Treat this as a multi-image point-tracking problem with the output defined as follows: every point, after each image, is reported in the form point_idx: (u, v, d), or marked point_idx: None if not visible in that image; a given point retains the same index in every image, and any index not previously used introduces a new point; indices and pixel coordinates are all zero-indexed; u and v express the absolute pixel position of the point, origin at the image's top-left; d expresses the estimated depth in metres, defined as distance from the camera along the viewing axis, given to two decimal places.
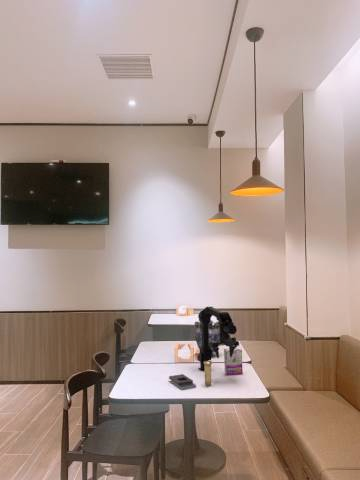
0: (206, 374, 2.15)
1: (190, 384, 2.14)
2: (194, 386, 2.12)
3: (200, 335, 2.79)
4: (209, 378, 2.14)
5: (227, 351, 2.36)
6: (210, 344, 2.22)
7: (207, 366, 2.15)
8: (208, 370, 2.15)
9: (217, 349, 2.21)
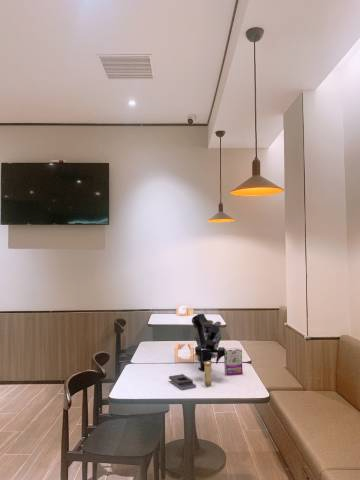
0: (206, 374, 2.15)
1: (190, 384, 2.14)
2: (194, 386, 2.12)
3: None
4: (209, 378, 2.14)
5: (227, 351, 2.36)
6: None
7: (207, 366, 2.15)
8: (208, 370, 2.15)
9: (200, 352, 2.26)
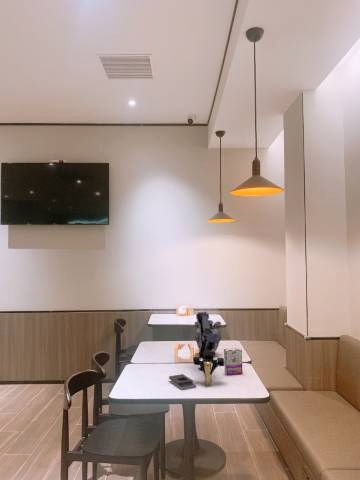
0: (206, 374, 2.15)
1: (190, 384, 2.14)
2: (194, 386, 2.12)
3: None
4: (209, 378, 2.14)
5: (227, 351, 2.36)
6: None
7: (207, 366, 2.15)
8: (208, 370, 2.15)
9: (202, 363, 2.19)
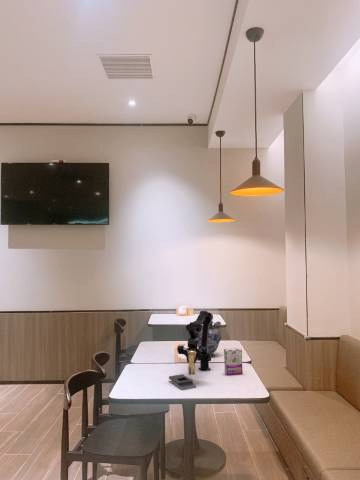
0: (190, 363, 2.17)
1: (190, 384, 2.14)
2: (194, 386, 2.12)
3: (200, 335, 2.79)
4: (193, 366, 2.16)
5: (227, 351, 2.36)
6: None
7: (191, 355, 2.17)
8: (192, 359, 2.17)
9: (186, 351, 2.21)
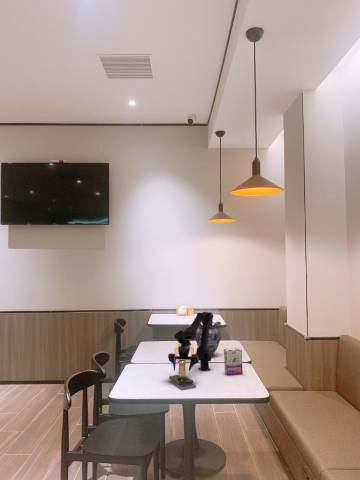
0: (180, 373, 2.17)
1: (190, 384, 2.14)
2: (194, 386, 2.12)
3: (200, 335, 2.79)
4: (183, 377, 2.17)
5: (227, 351, 2.36)
6: None
7: (181, 365, 2.17)
8: (182, 369, 2.17)
9: (172, 359, 2.22)
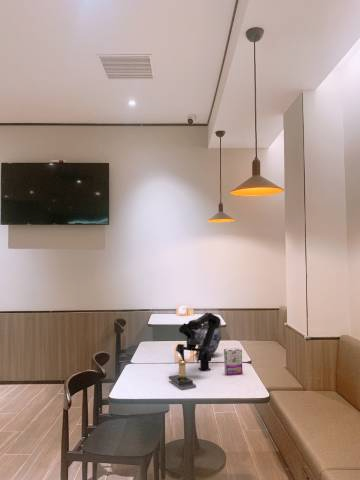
0: (180, 373, 2.17)
1: (190, 384, 2.14)
2: (194, 386, 2.12)
3: (200, 335, 2.79)
4: (183, 377, 2.17)
5: (227, 351, 2.36)
6: (176, 347, 2.32)
7: (181, 365, 2.17)
8: (182, 369, 2.17)
9: (182, 350, 2.28)
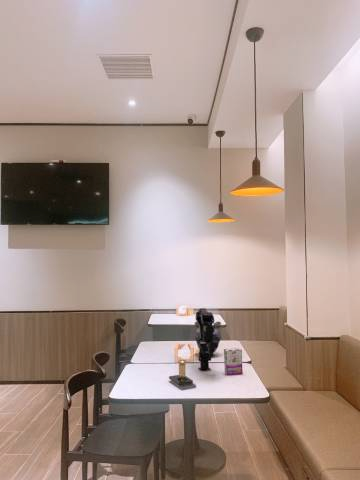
0: (180, 373, 2.17)
1: (190, 384, 2.14)
2: (194, 386, 2.12)
3: None
4: (183, 377, 2.17)
5: (227, 351, 2.36)
6: (213, 345, 2.27)
7: (181, 365, 2.17)
8: (182, 369, 2.17)
9: None
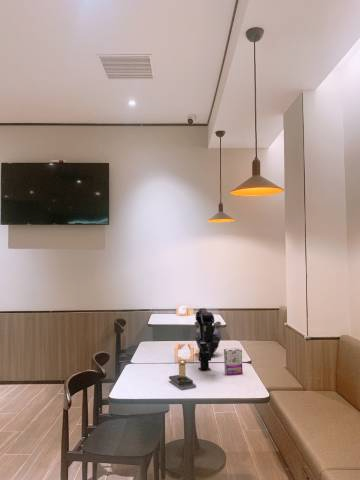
0: (180, 373, 2.17)
1: (190, 384, 2.14)
2: (194, 386, 2.12)
3: None
4: (183, 377, 2.17)
5: (227, 351, 2.36)
6: (213, 345, 2.27)
7: (181, 365, 2.17)
8: (182, 369, 2.17)
9: None
